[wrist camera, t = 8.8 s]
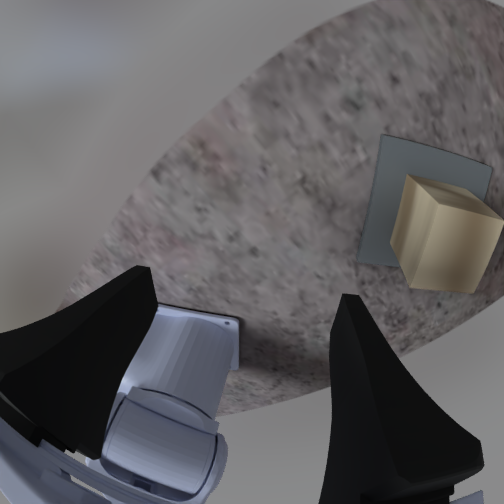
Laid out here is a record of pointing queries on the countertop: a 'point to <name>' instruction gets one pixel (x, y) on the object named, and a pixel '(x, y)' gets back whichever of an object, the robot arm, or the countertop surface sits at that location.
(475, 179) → the coaster
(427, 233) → the block
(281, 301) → the countertop surface
